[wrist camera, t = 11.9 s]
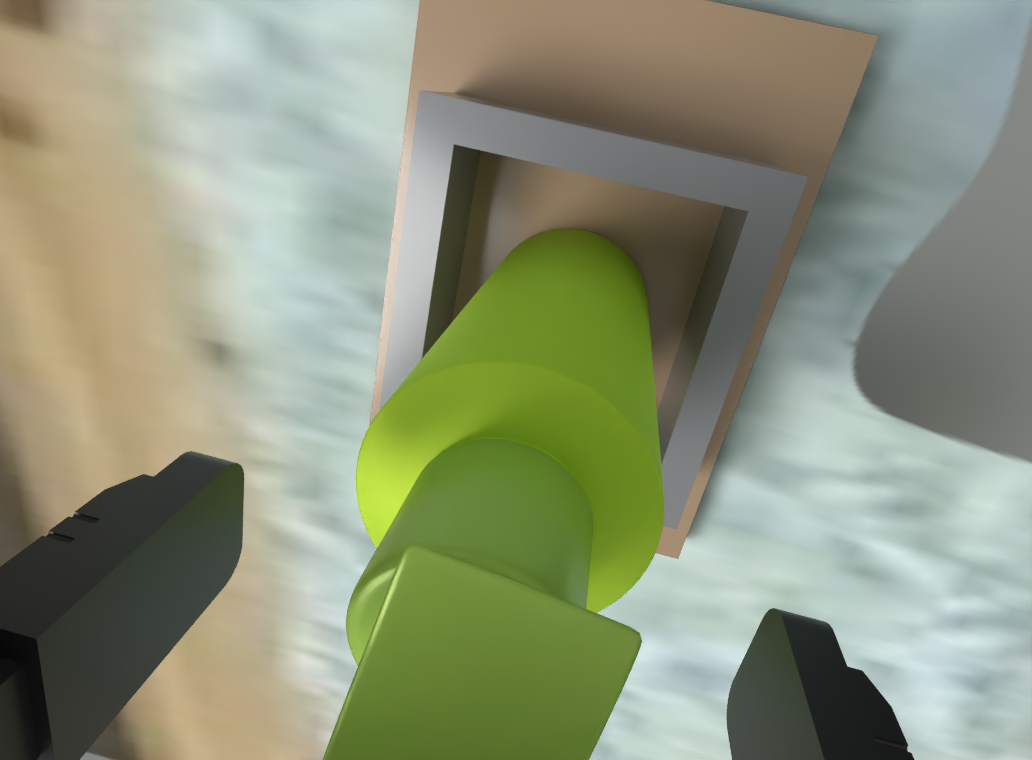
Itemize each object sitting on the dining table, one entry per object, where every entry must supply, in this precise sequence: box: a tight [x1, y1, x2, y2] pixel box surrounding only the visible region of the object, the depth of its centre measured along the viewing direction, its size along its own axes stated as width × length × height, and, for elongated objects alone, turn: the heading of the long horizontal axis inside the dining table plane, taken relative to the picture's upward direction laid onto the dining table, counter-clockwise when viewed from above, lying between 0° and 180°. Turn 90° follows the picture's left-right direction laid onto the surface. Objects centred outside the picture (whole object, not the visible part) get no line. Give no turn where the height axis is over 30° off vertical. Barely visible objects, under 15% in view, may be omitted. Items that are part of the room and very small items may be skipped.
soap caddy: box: [369, 0, 878, 559], centre depth 23 cm, size 20×14×6 cm
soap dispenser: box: [323, 229, 664, 760], centre depth 15 cm, size 6×7×20 cm
